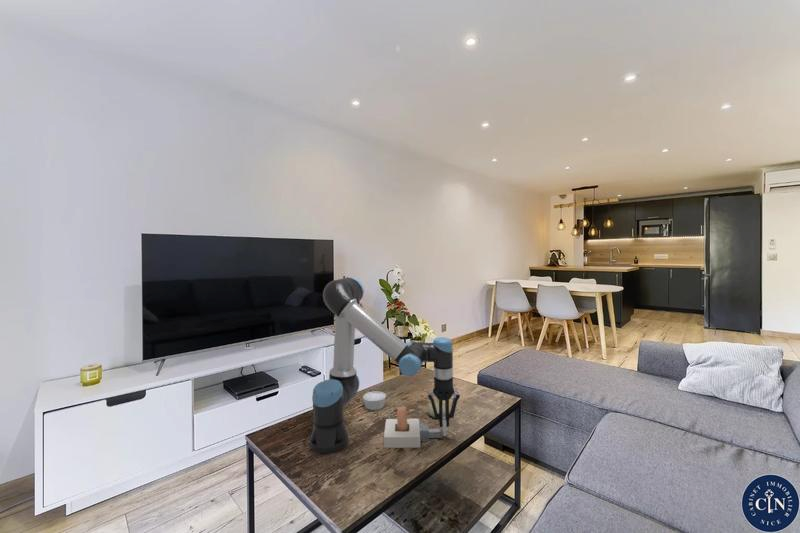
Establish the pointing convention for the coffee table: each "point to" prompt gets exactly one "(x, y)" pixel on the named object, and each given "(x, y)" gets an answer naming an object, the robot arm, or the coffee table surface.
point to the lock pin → (436, 433)
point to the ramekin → (374, 400)
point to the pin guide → (424, 432)
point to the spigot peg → (402, 418)
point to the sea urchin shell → (431, 412)
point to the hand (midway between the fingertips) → (444, 434)
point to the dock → (402, 434)
